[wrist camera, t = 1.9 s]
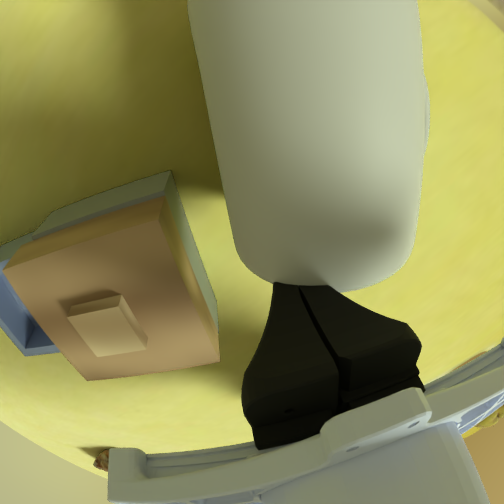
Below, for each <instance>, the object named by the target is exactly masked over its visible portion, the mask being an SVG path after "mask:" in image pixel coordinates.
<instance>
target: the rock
mask: <svg viewBox="0 0 504 504" xmlns="http://www.w3.org/2000/svg"><path fill="white" fill-rule="evenodd" d="M93 465H94V466H95V467H96V468H98V469H102V470H104V471H107V472H108V465H109V449H108V450H104V451H103V453H100V454H99V455H98V457H96V460H95V461H94V464H93Z"/></svg>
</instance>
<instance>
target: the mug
mask: <svg viewBox="0 0 504 504" xmlns="http://www.w3.org/2000/svg"><path fill="white" fill-rule="evenodd" d="M187 8H188V16H189V22H190V27H191V32H192V37H193V41H194V46H195V50H196V55H197V60H198V65H199V69H200V74H201V79H202V84H203V89H204V95H205V100H206V105H207V110H208V115H209V120H210V125H211V131H212V136H213V141H214V146H215V151H216V156H217V161H218V166H219V171H220V176H221V181H222V186H223V191H224V195H225V200H226V205H227V210H228V215H229V220H230V224H231V229H232V234H233V239H234V243H235V247H236V250H237V253H238V255H239V257H240V259H241V260H242V262H243V263H244V264H245V266H246V267H247V268H248V269H249V270H250V271H252V272H253V273H254V274H256V275H257V276H259V277H260V278H262V279H264V280H266V281H268V282H270V283H272V284H273V283H274V282H280V283H285V284H293V285H308V286H316V285H329V286H331V287H332V288H334V289H335V290H336V291H338V292H339V293H340V292H348V291H354V290H358V289H362V288H365V287H369V286H372V285H374V284H376V283H379V282H381V281H383V280H385V279H387V278H388V277H390V276H392V275H393V274H394V273H396V272H397V271H398V270H399V269H400V268H401V267H402V266H403V265H404V264H405V263H406V261H407V259H408V258H409V256H410V254H411V252H412V249H413V246H414V241H415V236H416V229H417V222H418V214H419V206H420V197H421V187H422V175H423V160H424V154H425V151H426V147H427V142H428V137H429V127H430V102H429V92H428V87H427V82H426V78H425V75H424V69H423V53H422V39H421V27H420V18H419V10H418V4H417V0H188V3H187ZM298 289H299V287H298Z"/></svg>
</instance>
